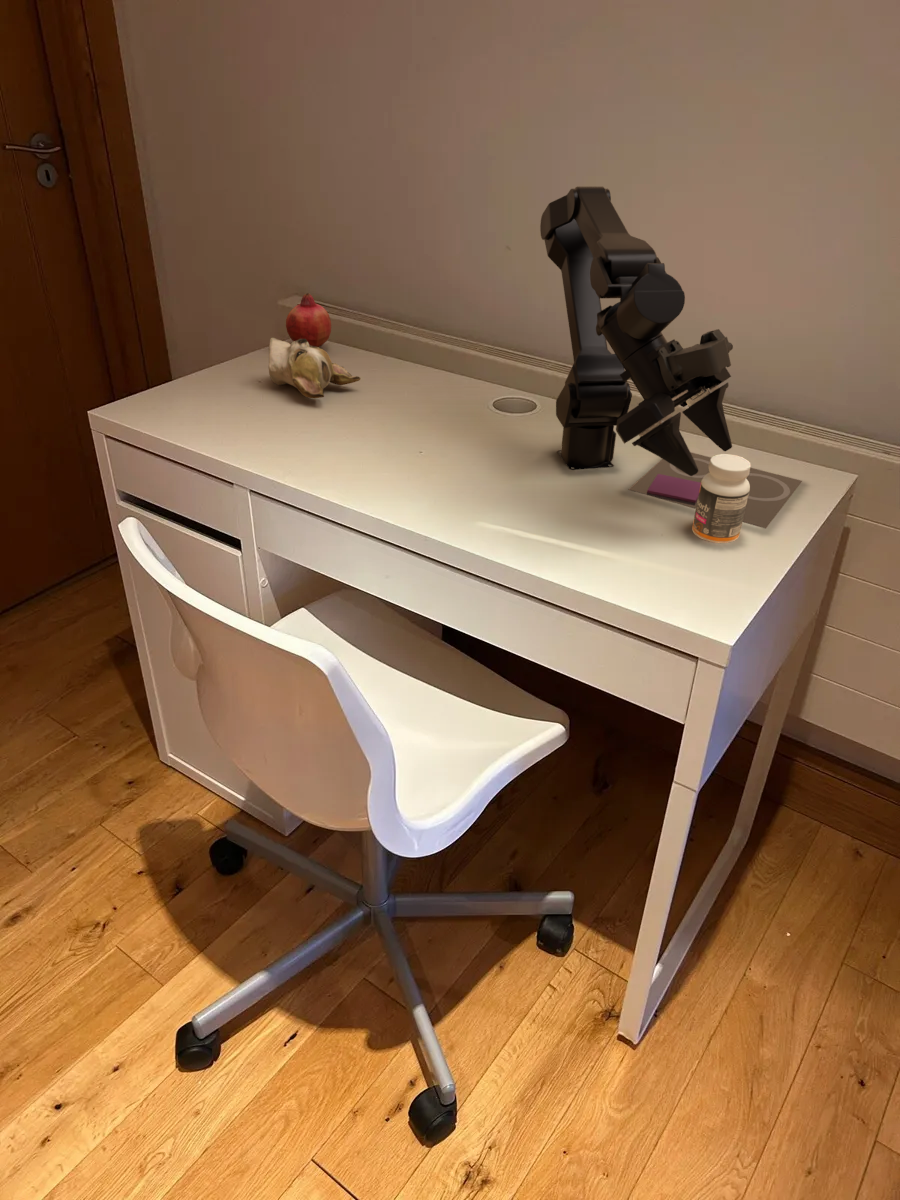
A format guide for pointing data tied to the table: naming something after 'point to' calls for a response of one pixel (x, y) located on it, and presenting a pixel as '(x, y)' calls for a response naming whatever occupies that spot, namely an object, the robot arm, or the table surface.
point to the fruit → (309, 322)
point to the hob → (763, 494)
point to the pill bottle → (722, 499)
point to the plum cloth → (675, 488)
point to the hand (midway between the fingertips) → (712, 461)
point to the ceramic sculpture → (305, 367)
